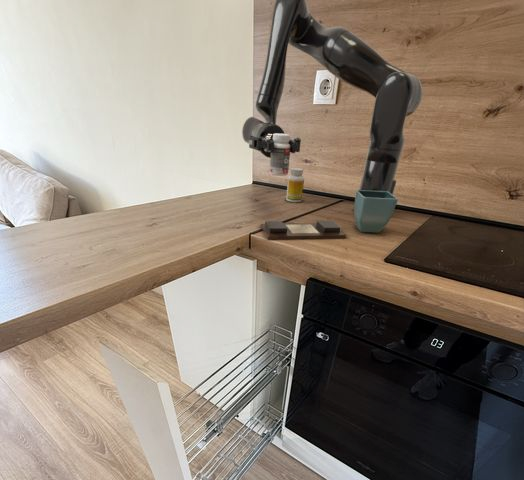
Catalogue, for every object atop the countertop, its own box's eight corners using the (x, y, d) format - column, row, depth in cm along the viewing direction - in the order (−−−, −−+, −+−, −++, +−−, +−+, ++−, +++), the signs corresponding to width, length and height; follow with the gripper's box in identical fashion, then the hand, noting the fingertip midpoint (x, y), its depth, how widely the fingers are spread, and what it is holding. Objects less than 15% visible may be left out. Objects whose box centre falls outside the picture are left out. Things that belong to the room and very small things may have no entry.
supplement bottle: (284, 198, 107) (287, 167, 101) (298, 198, 108) (302, 167, 102) (288, 202, 103) (291, 170, 96) (303, 202, 104) (307, 170, 98)
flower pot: (348, 224, 86) (355, 189, 81) (378, 225, 86) (388, 191, 81) (354, 234, 79) (363, 196, 74) (387, 236, 79) (399, 199, 74)
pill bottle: (286, 176, 75) (290, 135, 70) (268, 175, 76) (270, 134, 71) (289, 173, 79) (292, 134, 74) (271, 171, 80) (273, 132, 74)
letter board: (331, 225, 84) (332, 218, 83) (345, 238, 77) (346, 230, 76) (260, 226, 81) (260, 218, 80) (268, 239, 73) (268, 231, 72)
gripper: (243, 121, 81) (254, 126, 68) (295, 124, 83) (315, 129, 70) (243, 155, 86) (253, 165, 73) (292, 156, 88) (310, 166, 75)
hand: (283, 147), depth 72 cm, fingers closed on pill bottle, 4 cm apart
